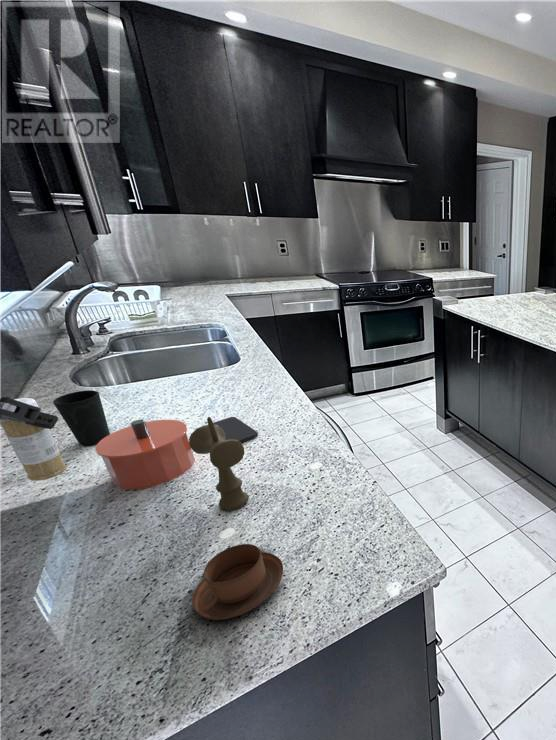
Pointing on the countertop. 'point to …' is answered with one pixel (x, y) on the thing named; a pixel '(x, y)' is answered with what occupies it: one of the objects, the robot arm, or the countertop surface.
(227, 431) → the phone
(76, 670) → the countertop surface
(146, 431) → the pot lid
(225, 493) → the kendama
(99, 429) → the cup
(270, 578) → the cup and saucer
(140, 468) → the pot
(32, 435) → the sprinkles bottle
